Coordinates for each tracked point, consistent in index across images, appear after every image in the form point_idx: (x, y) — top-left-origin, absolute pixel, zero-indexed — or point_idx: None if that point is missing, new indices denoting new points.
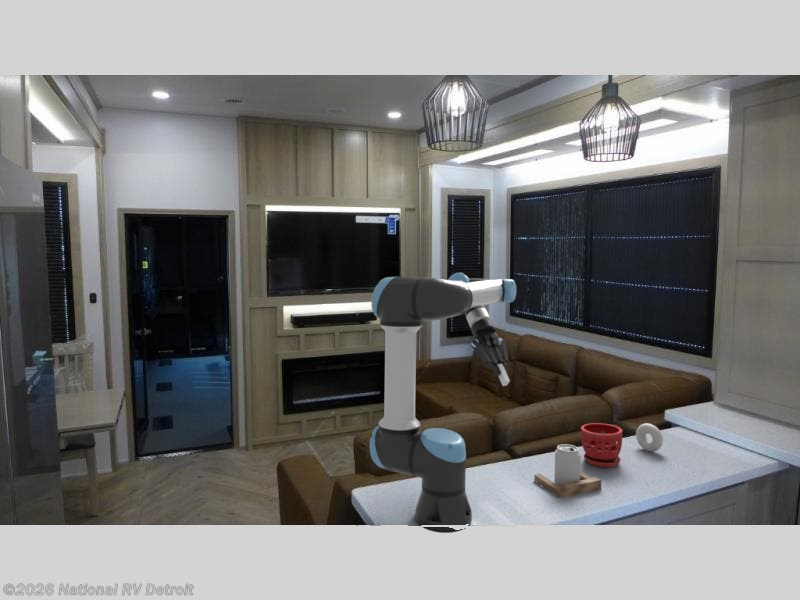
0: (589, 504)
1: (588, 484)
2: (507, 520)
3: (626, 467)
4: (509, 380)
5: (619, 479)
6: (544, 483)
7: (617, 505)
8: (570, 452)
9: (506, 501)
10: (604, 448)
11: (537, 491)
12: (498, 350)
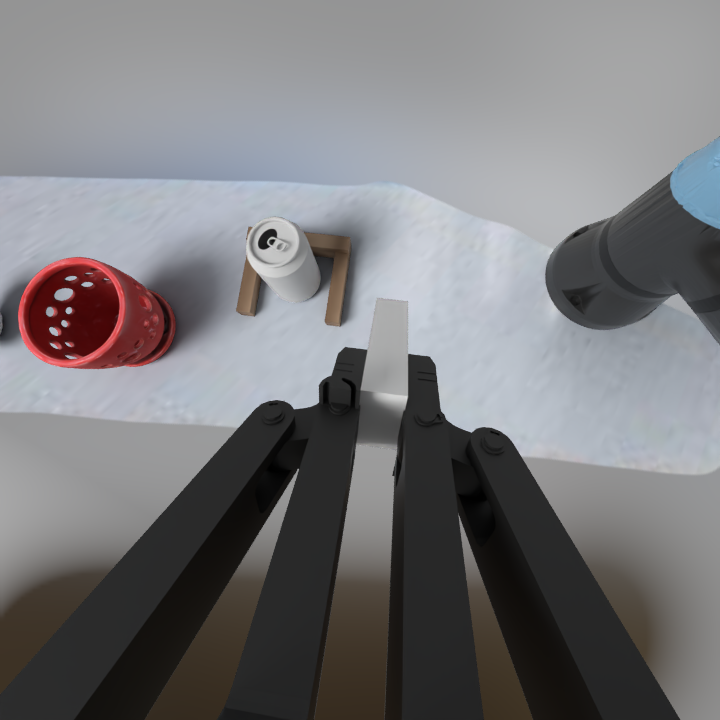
0: (321, 206)
1: None
2: (492, 225)
3: None
4: (377, 300)
5: (187, 253)
6: (344, 289)
7: (282, 183)
8: (287, 222)
9: (450, 281)
10: (138, 282)
11: (368, 286)
12: (283, 582)
